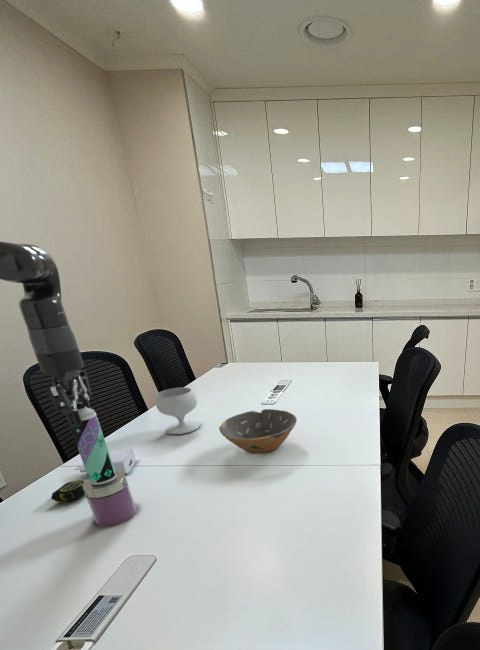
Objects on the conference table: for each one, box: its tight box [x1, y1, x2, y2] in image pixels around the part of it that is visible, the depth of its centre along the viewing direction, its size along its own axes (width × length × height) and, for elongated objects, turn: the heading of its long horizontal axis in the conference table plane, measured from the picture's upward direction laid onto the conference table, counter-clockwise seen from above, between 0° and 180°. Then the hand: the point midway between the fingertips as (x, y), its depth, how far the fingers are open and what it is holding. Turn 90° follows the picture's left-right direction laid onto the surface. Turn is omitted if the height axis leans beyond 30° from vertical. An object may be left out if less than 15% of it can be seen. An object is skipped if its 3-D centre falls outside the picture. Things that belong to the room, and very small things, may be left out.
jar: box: [84, 482, 137, 527], centre depth 97 cm, size 9×9×10 cm
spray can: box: [66, 402, 116, 485], centre depth 91 cm, size 6×6×20 cm
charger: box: [74, 449, 137, 475], centre depth 120 cm, size 5×9×15 cm
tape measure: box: [50, 479, 85, 503], centre depth 107 cm, size 7×7×4 cm
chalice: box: [155, 387, 201, 435], centre depth 148 cm, size 14×14×15 cm
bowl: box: [218, 408, 298, 455], centre depth 131 cm, size 25×25×10 cm
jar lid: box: [82, 471, 128, 498], centre depth 96 cm, size 9×9×2 cm
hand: (82, 421), depth 89 cm, fingers closed on spray can, 5 cm apart
